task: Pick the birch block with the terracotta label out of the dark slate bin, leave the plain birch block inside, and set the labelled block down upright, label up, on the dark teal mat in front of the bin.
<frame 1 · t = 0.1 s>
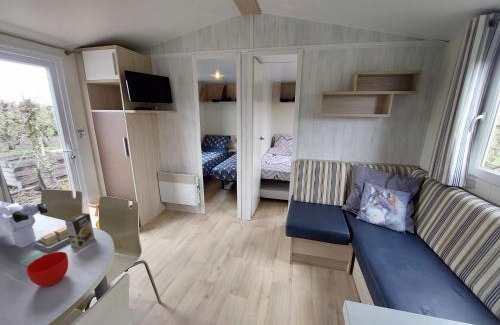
hand: (37, 213, 108), 22 cm above the table, tool horizontal, fingers open, 7 cm apart
coffee box: (83, 242, 119), on the table
parts bin: (57, 242, 120), on the table
red mixing bowl: (52, 278, 95), on the table
plain block: (63, 238, 122), resting on parts bin
teal mat: (35, 259, 106), on the table
labelled block: (51, 244, 117), resting on parts bin
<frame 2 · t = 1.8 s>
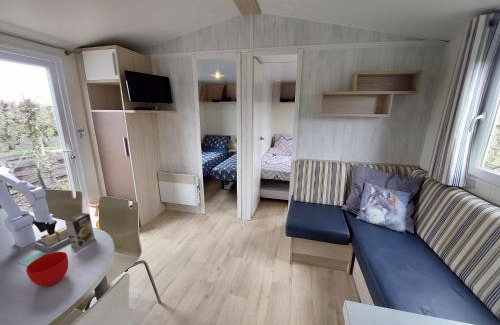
hand: (47, 232, 115), 8 cm above the table, tool pointing down, fingers open, 7 cm apart
nothing on the table moved.
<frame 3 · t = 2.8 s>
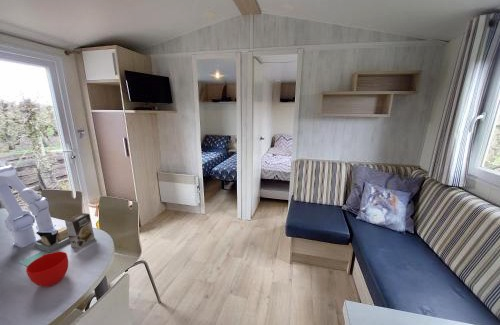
hand: (50, 242, 116), 2 cm above the table, tool pointing down, fingers closed on labelled block, 5 cm apart
labelled block: (51, 244, 117), resting on parts bin, touching gripper
everything else where it was.
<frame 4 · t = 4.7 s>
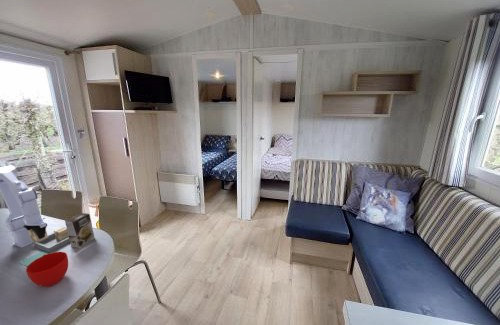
hand: (39, 236, 109), 9 cm above the table, tool pointing down, fingers closed on labelled block, 5 cm apart
labelled block: (40, 239, 109), point 8 cm above the table, touching gripper
everything else where it was.
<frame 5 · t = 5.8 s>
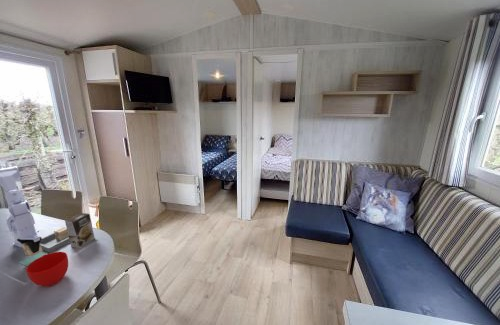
hand: (33, 250, 105), 5 cm above the table, tool pointing down, fingers closed on labelled block, 5 cm apart
labelled block: (34, 252, 105), point 4 cm above the table, touching gripper
everything else where it was.
when the fingers open (3 cm above the table, at t = 6.7 s): labelled block drops 1 cm, resting on teal mat.
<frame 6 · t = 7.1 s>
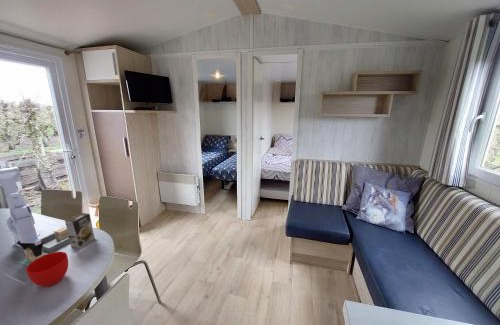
hand: (34, 253, 105), 3 cm above the table, tool pointing down, fingers open, 7 cm apart
labelled block: (36, 258, 106), resting on teal mat
everything else where it was.
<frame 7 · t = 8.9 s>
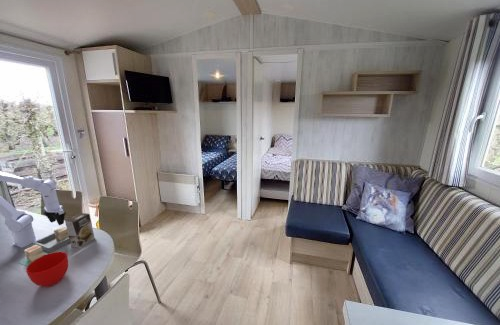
hand: (57, 223, 122), 9 cm above the table, tool pointing down, fingers open, 7 cm apart
nothing on the table moved.
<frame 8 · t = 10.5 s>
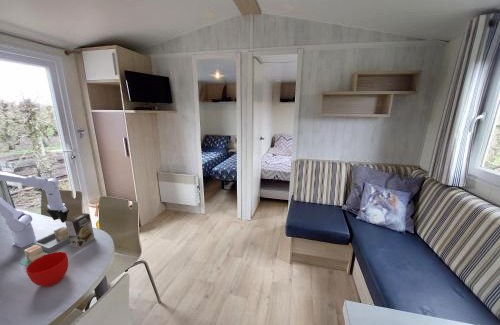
hand: (60, 220, 124), 9 cm above the table, tool pointing down, fingers open, 7 cm apart
nothing on the table moved.
at the end: labelled block 0.1 cm off-centre on the teal mat, point 0.5 cm above the teal mat's base; labelled block tilted 0°; plain block moved 0.0 cm from its start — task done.
